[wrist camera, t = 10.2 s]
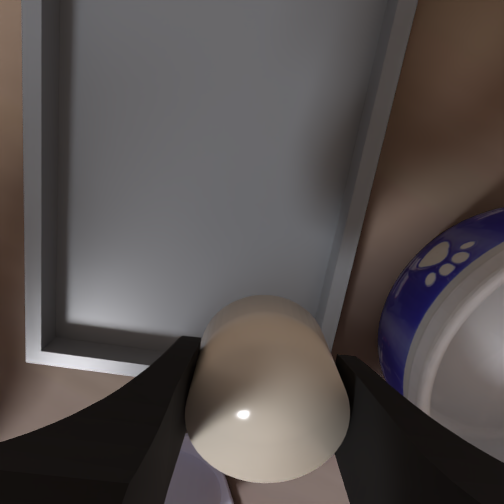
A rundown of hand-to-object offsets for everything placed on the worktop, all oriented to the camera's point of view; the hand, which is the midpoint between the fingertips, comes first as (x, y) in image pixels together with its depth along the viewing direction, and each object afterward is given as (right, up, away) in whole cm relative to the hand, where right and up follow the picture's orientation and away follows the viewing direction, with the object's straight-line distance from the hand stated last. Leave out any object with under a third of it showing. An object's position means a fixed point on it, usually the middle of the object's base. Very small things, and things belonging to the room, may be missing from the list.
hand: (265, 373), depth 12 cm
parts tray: (-3, +9, +7) cm, 11 cm away
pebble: (0, 0, +1) cm, 1 cm away
